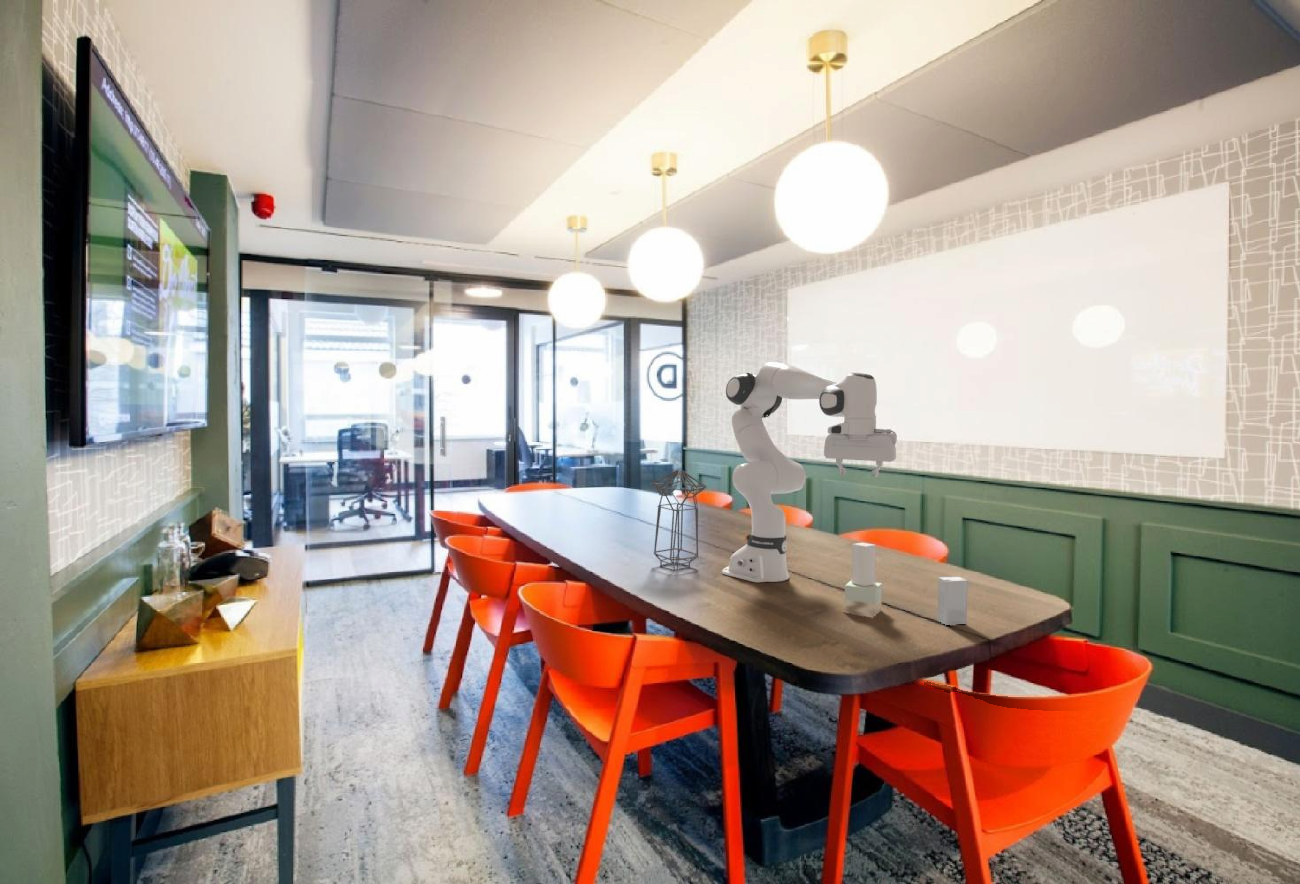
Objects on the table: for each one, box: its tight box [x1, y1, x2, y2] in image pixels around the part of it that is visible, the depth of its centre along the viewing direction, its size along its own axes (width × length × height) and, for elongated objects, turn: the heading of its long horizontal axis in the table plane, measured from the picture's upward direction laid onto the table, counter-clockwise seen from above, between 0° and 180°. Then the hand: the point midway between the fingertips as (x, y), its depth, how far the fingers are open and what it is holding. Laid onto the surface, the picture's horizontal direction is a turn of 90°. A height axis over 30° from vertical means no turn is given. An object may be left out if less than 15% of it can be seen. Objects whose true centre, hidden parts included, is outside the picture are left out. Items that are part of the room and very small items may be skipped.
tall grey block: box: [851, 542, 877, 586], centre depth 175 cm, size 4×4×11 cm
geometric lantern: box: [649, 469, 708, 572], centre depth 221 cm, size 16×16×35 cm
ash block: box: [842, 597, 882, 619], centre depth 175 cm, size 8×8×4 cm
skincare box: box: [936, 576, 969, 626], centre depth 165 cm, size 6×4×12 cm
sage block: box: [844, 579, 883, 604], centre depth 175 cm, size 8×8×4 cm
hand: (858, 475), depth 183 cm, fingers open, 8 cm apart
